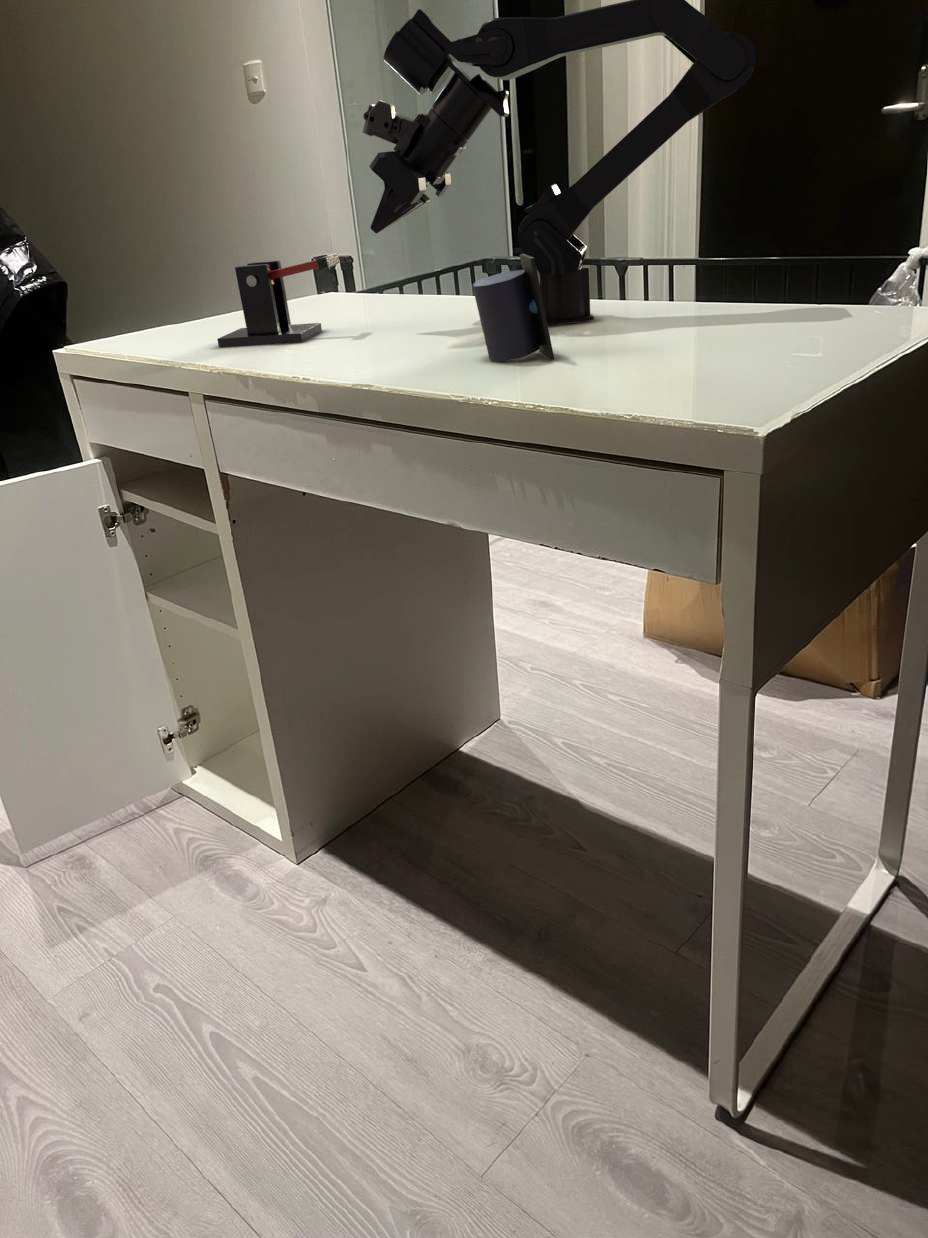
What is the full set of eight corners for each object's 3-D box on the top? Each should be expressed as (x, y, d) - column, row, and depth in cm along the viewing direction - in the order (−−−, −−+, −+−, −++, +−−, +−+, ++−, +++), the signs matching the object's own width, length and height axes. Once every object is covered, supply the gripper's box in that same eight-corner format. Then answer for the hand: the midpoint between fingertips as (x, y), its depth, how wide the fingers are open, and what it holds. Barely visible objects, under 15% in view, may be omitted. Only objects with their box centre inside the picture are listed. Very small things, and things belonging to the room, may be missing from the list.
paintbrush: (341, 267, 123) (336, 248, 122) (329, 271, 118) (324, 252, 117) (261, 286, 126) (255, 268, 125) (246, 292, 122) (240, 273, 121)
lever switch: (322, 331, 129) (310, 256, 124) (302, 342, 122) (289, 263, 117) (242, 336, 131) (228, 263, 127) (218, 347, 124) (202, 270, 120)
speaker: (560, 346, 101) (544, 247, 97) (554, 360, 97) (538, 256, 92) (493, 357, 103) (475, 260, 99) (484, 371, 99) (464, 270, 94)
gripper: (417, 78, 117) (347, 182, 124) (376, 69, 101) (298, 189, 108) (483, 141, 119) (410, 240, 126) (453, 142, 103) (371, 255, 110)
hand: (373, 230), depth 117 cm, fingers closed
